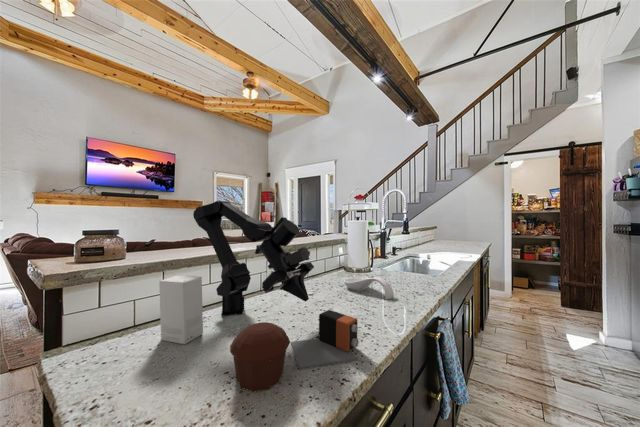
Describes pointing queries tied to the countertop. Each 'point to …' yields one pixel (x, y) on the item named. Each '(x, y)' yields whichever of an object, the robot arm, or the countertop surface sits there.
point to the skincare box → (181, 308)
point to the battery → (338, 330)
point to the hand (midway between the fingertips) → (307, 300)
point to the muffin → (259, 355)
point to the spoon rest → (363, 283)
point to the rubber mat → (319, 354)
